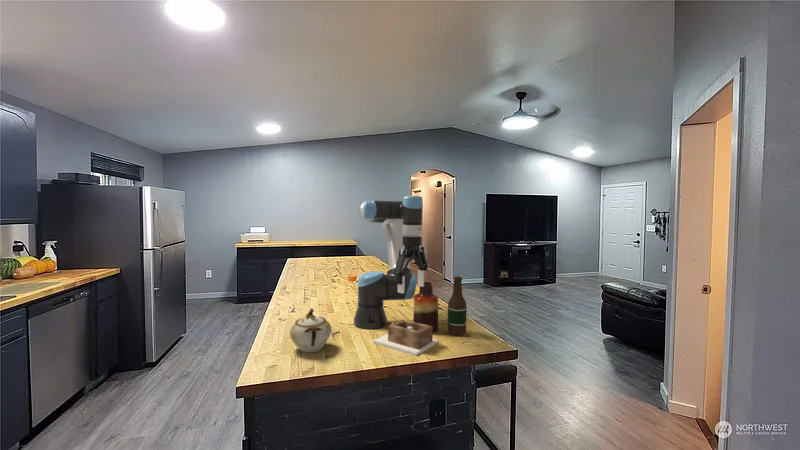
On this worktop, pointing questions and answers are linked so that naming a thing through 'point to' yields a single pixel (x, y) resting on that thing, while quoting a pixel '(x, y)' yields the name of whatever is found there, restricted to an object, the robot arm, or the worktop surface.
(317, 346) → the sugar bowl
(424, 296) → the vase
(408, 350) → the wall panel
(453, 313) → the beer bottle
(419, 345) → the frame
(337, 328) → the worktop surface
